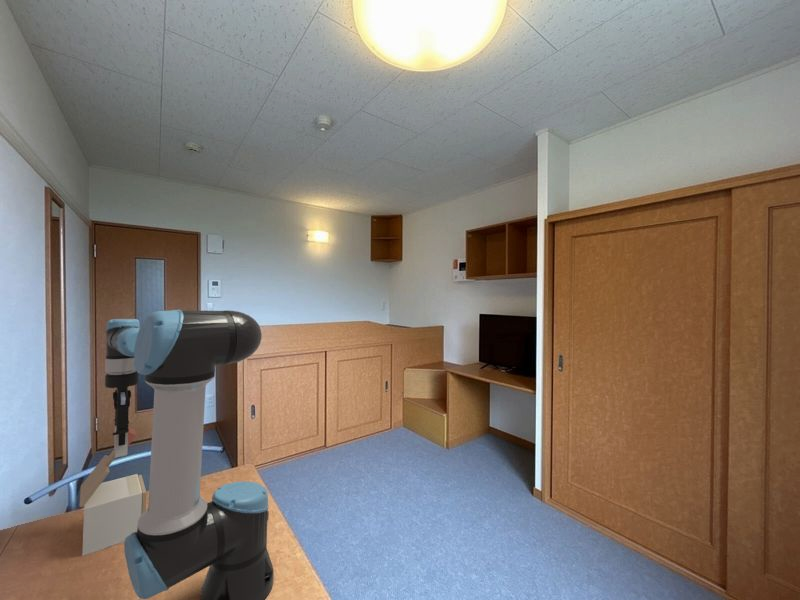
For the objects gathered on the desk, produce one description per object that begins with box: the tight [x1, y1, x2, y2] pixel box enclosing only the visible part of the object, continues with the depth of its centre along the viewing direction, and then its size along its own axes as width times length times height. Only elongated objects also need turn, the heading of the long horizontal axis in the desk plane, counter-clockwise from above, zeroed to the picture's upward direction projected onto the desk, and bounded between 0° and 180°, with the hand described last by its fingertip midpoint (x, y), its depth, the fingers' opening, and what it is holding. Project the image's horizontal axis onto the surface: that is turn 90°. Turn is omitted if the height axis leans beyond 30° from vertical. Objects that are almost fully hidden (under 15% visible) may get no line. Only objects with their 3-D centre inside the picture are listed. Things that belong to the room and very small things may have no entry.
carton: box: [82, 473, 147, 557], centre depth 97 cm, size 14×13×12 cm
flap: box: [79, 426, 137, 508], centre depth 96 cm, size 13×18×2 cm
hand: (120, 451), depth 98 cm, fingers closed on flap, 6 cm apart
